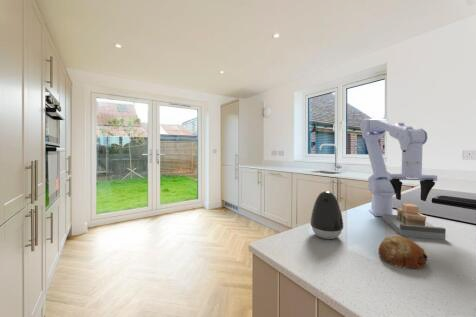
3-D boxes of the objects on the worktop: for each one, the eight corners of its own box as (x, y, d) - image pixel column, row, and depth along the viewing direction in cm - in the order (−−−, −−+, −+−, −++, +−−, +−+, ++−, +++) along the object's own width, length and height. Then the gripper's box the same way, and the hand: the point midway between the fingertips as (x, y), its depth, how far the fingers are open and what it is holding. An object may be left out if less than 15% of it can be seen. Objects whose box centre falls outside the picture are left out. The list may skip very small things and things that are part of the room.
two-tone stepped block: (396, 217, 85) (397, 207, 85) (412, 218, 84) (412, 208, 84) (408, 226, 76) (408, 215, 76) (425, 228, 74) (426, 216, 74)
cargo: (401, 209, 82) (401, 203, 82) (412, 210, 81) (413, 204, 81) (406, 213, 78) (406, 206, 78) (418, 213, 77) (418, 206, 77)
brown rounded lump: (388, 261, 64) (374, 234, 66) (430, 256, 58) (415, 226, 60) (384, 277, 56) (369, 246, 58) (433, 273, 50) (414, 238, 52)
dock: (382, 218, 90) (382, 210, 90) (417, 221, 87) (417, 212, 87) (401, 235, 73) (401, 225, 73) (445, 239, 70) (445, 228, 69)
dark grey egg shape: (307, 239, 71) (308, 193, 70) (313, 228, 80) (313, 187, 80) (342, 245, 66) (343, 195, 66) (343, 233, 76) (344, 189, 75)
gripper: (392, 163, 77) (391, 201, 78) (443, 163, 73) (441, 203, 73) (385, 162, 84) (384, 196, 84) (431, 162, 80) (430, 199, 80)
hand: (410, 199), depth 79 cm, fingers open, 7 cm apart
